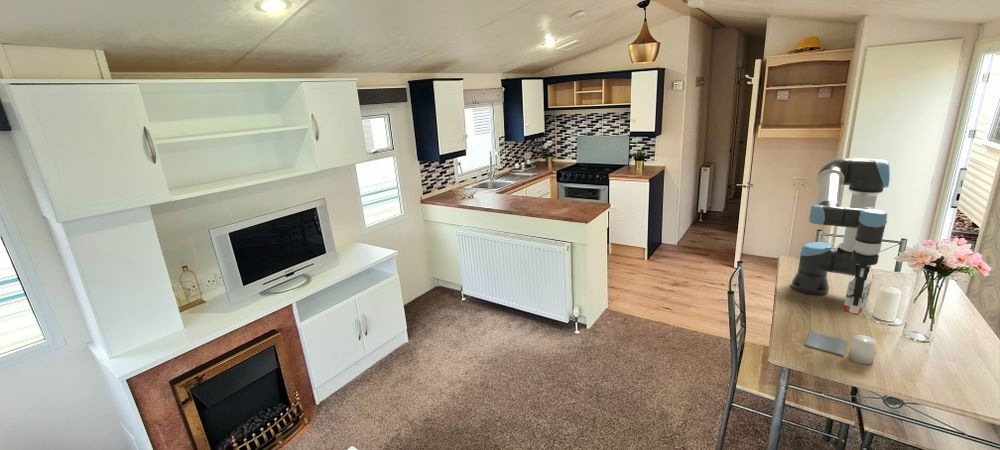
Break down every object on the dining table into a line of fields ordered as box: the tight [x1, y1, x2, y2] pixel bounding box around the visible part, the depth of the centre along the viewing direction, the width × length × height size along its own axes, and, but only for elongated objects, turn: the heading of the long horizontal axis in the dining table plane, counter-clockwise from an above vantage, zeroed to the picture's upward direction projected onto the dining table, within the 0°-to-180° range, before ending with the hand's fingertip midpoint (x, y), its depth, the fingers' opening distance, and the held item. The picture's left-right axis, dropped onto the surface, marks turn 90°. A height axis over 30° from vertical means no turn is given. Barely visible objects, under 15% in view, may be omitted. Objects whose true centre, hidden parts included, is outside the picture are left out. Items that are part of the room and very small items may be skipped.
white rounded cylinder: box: [848, 334, 878, 365], centre depth 160 cm, size 7×7×8 cm
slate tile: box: [804, 331, 848, 357], centre depth 171 cm, size 12×12×1 cm
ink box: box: [842, 277, 873, 316], centre depth 165 cm, size 8×5×12 cm, turn 125°
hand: (854, 307), depth 166 cm, fingers closed on ink box, 9 cm apart
